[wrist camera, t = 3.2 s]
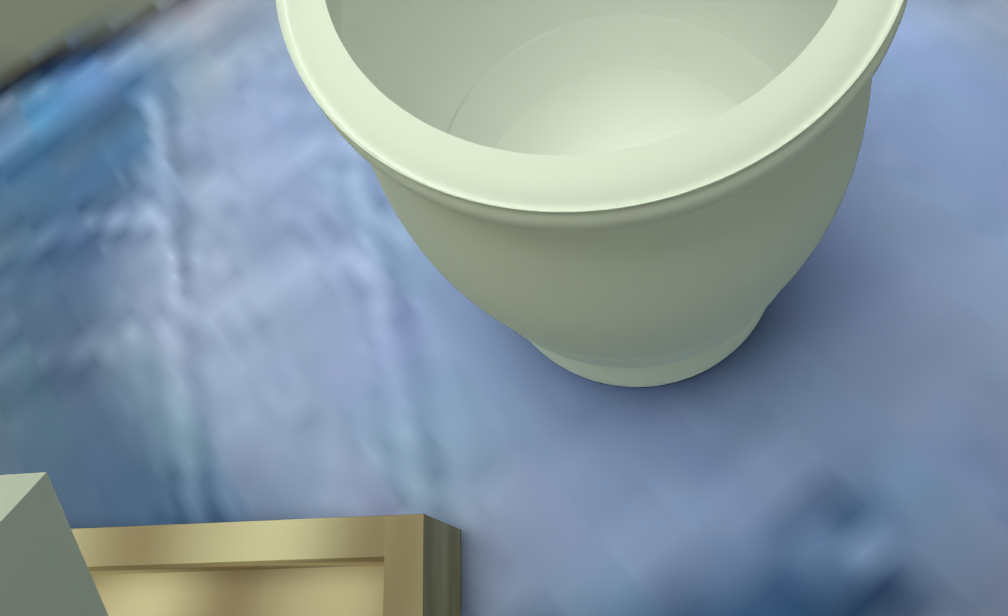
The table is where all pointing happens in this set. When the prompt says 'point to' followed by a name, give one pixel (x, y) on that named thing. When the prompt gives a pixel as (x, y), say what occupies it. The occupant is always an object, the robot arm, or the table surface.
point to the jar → (605, 155)
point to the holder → (278, 567)
